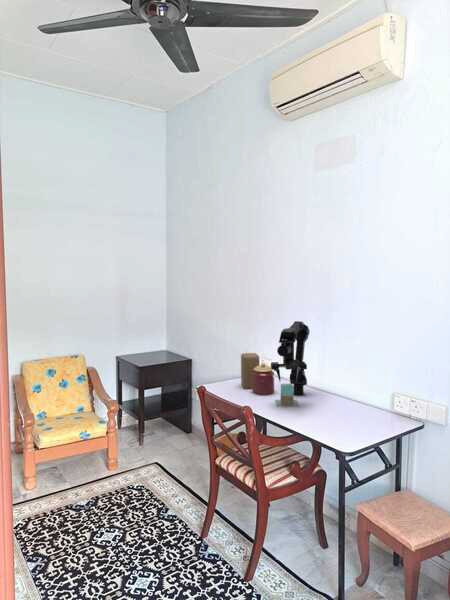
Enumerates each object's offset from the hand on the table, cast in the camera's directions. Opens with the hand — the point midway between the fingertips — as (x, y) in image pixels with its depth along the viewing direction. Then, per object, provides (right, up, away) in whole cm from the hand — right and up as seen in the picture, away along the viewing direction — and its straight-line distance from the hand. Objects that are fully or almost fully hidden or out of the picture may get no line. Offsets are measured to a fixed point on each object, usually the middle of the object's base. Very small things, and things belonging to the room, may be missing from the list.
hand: (288, 381), depth 235 cm
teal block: (-1, -7, +1) cm, 7 cm away
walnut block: (-1, -12, +1) cm, 12 cm away
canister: (-12, -11, +22) cm, 27 cm away
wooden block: (-19, -10, +35) cm, 41 cm away
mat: (-1, -12, +1) cm, 12 cm away
